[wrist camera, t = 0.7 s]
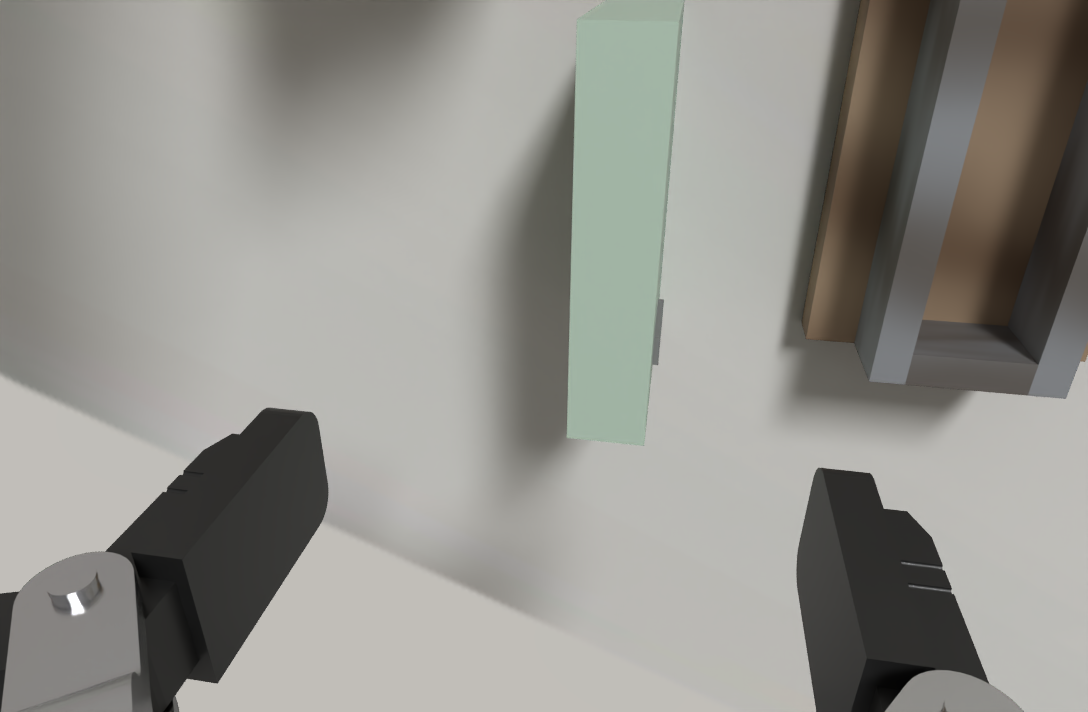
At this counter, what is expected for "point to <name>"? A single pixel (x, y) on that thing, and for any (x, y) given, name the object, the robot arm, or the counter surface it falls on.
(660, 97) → the door panel
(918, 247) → the door track
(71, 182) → the counter surface
